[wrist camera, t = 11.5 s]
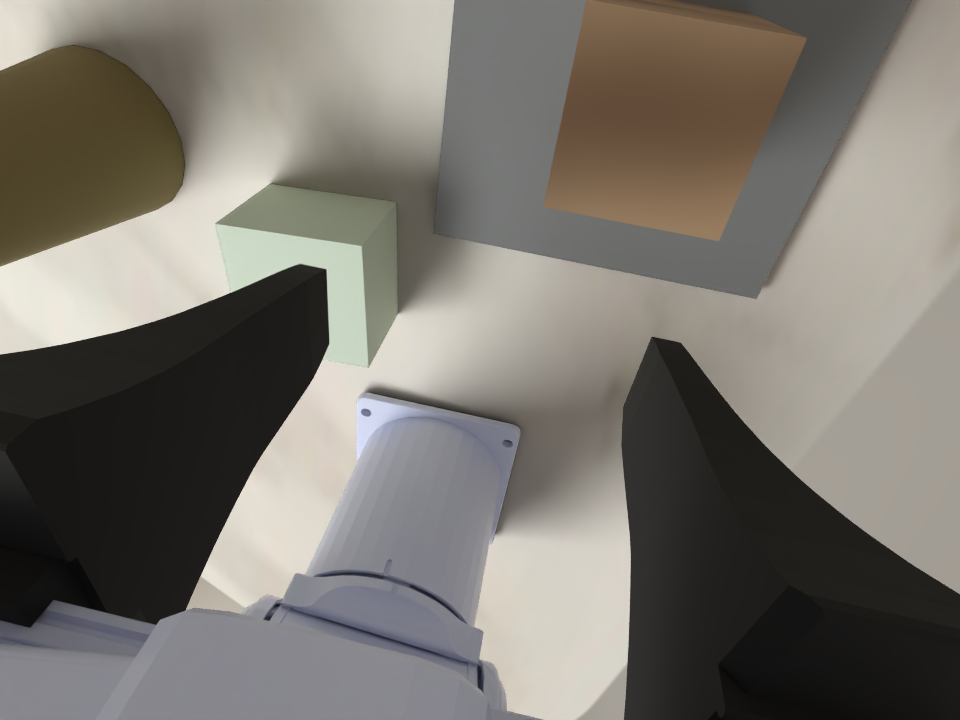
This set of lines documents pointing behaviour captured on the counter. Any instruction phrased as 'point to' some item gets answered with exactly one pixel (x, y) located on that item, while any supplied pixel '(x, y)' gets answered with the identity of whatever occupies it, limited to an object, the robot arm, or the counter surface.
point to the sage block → (322, 258)
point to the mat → (537, 116)
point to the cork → (79, 149)
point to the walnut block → (667, 112)
